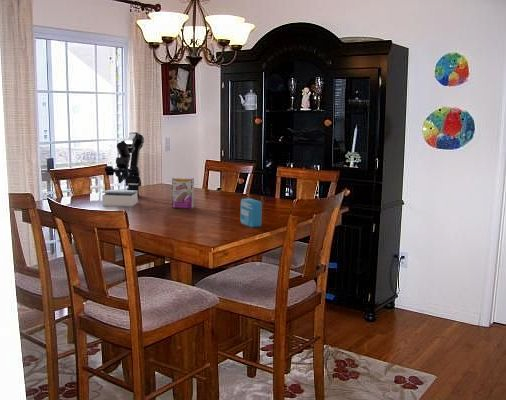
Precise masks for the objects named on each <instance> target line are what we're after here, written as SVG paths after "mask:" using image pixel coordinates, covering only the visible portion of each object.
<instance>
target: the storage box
mask: <svg viewBox="0 0 506 400" xmlns="http://www.w3.org/2000/svg"><path fill="white" fill-rule="evenodd" d="M101 198H102V199H101V200H102V202H101V203H102V207H119V208H120V207H122V208H123V207H125V208H127V207H128V208H132V207H134V206H135V205H136V204H137V203H138V201H139V200H138V196H137V192H136V193H132V194H131V193H103V194H102V195H101Z"/></svg>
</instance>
